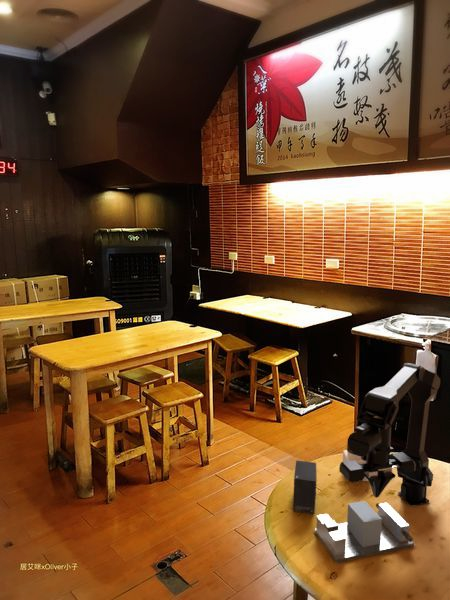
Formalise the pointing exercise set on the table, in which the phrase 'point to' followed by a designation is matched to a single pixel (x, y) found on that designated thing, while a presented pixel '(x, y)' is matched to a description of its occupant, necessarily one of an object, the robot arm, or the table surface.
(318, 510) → the table surface
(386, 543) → the vise
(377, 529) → the block
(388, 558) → the table surface
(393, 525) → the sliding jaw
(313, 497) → the small box
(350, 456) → the medicine bottle
